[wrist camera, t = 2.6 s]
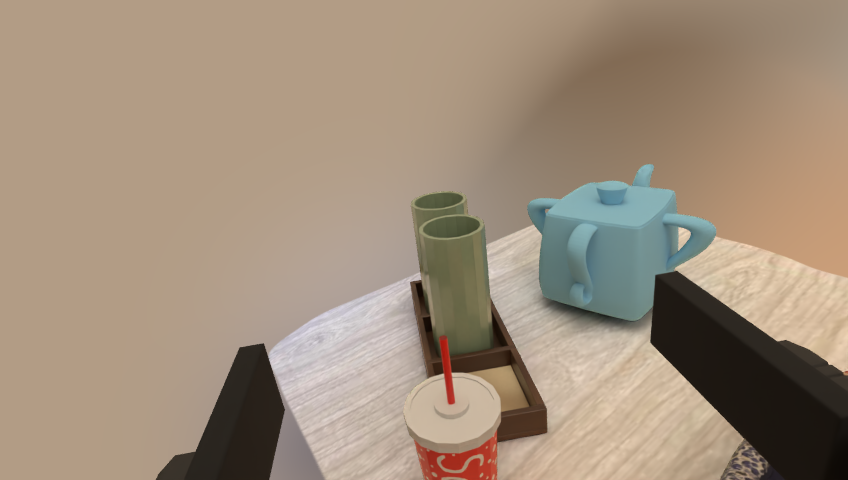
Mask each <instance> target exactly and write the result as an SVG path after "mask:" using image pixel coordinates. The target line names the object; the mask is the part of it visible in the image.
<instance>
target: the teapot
mask: <svg viewBox="0 0 848 480" xmlns="http://www.w3.org/2000/svg"><path fill="white" fill-rule="evenodd" d="M653 169H654V166H653V165H652V164H647V165H644V166H642V167H641V168H640V169H639V170H638V172H637V174H636V177H635V179H634V182H633V184H632V186H629V185H627V184H626V183H623V182H619V181H606V182H601V183H588V184H585V185H583V186H581V187H580V188H578V189H576V190H575V191H573V192H571V193H570V194H568V195H567V196H565V197H564V198H563V199H561V200H559V199H551V198H540V199H535V200H532V201H531V202H530V203H529V204H528V209H527V210H528V214H529V216H530V218H531V220H532V222H533V223H534V225H535V227H536V228H537V229H538V230H539V232H540V233H541V234H542V241H541V249H540V261H539V281H540V286H541V290H542V293H543V295H544V297H546V298H548V299H551V300H554V301H557V302H561V303H564V304H568V305H571V306H575V307H578V308H582V309H585V310H589V311H593V312H596V313H600V314H604V315H608V316H612V317H616V318H620V319H624V320H629V321H636V320H639V319H640V318H642V317H643V316H644V315H645V314H646V313H647V312H648V311H649V310H650V309H651V308H652V307H653V300H654V286H655V275H657V274H663V273H669V272H674V269H675V267H676V266H678V265H680V264H682V263H684V262H686V261H688V260H690V259H691V258H693V257H695V256H696V255H698V254H700V253H701V252H702V251H704V250H705V249H706V248H707V247H708V246H709V245H710V244H711V242H712V241H713V240H714V238H715V236H716V228H715V226H714V225H713V224H712V223H711V222H709V221H707V220H704V219H701V218H698V217H693V216H688V215H679V214H677V206H676V196H675V192H673V190H667V189H658V188H650V179H651V175H652V172H653ZM545 209H550V210H549V211H548V212H547V213H545ZM678 227H682V228H685V229H687V230H689V231H690V232H691V236H690V238H689V240H688V241H687V242H686V244H685V245H684V246H683V247H682V248H681V249H680V250H679V251H678Z"/></svg>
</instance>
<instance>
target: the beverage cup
mask: <svg viewBox="0 0 848 480" xmlns="http://www.w3.org/2000/svg"><path fill="white" fill-rule="evenodd" d="M439 341H440V348H441V356H442V364H443V371H444V374H440V375H437V376H433V377H430V378H428V379H426V380H425V381H423V382H422V383H420V384H418V385H417V386H415V388H414V389H413V390H412V391H411V393H410V394H409V395H408V396H407V398H406V401H405V406H404V410H403V414H404V418H405V422H406V425H407V428H408V431H409V435H410V436H411V437H412V438H413V439H414V441H415V445H416V449H417V453H418V457H419V461H420V465H421V469H422V472H423V476H424V480H497V428H498V426H499V425H500V423H501V401H500V397H499V395H498V393H497V392H496V390H495V388H494V387H493V385H491V384H490V383H488V382H487V381H485V380H484V379H482V378H481V377H478V376H474V375H471V374H467V373H452V372H451V364H450V356H449V348H448V340H447V336H445V335H443V336H440V337H439Z"/></svg>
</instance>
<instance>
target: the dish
mask: <svg viewBox="0 0 848 480" xmlns="http://www.w3.org/2000/svg"><path fill="white" fill-rule="evenodd" d="M843 374H844V375H845V376H846V375H848V371H846V372H843ZM720 480H785V479H784V478H783V477H782V476H781V475H780V474H779V473H778V472H777V471H776V470H775V469H774V468H773V467H772V466H771V465H770V464H769V463H768V462H767V461H766V460H765V459H764V458H763V457H762V456H761V455H760V454H759V453H758V452H757V451H756V450H755V449H754V448H753V447H752V446H751V445H750V444H749V443H748V442H747V441H746V440H745V439H744V440H743V442H742V443H741V444H740V446H739V447H738V449H737V450H736V452H735V453H734V454H733V456H732V458H731V460H730V462H729V463H728V465H727V467H726V469H725V471H724V473H723V475H722V477H721V479H720Z"/></svg>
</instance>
